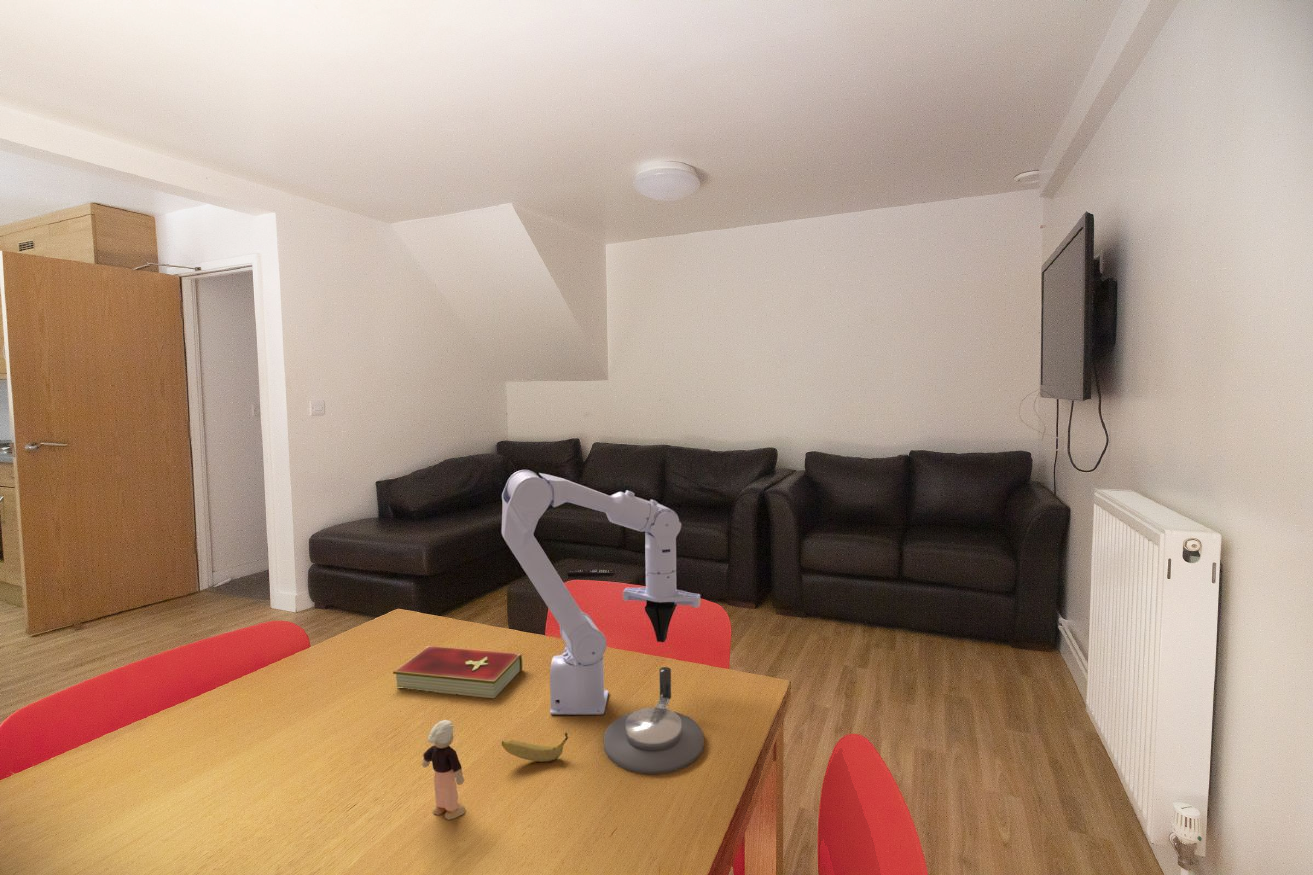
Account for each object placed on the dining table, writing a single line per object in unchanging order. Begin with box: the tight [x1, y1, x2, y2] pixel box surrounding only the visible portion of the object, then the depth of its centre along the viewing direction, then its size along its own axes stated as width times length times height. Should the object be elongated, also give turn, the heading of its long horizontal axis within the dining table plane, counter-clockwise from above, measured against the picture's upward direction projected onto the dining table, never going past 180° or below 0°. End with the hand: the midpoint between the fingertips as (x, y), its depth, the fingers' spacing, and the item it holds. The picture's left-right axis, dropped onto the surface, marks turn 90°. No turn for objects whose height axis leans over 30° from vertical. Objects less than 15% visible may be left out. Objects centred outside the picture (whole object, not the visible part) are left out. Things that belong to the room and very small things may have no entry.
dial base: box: [603, 711, 704, 775], centre depth 102 cm, size 16×16×1 cm
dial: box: [625, 666, 682, 750], centre depth 104 cm, size 14×9×6 cm, turn 167°
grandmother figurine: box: [421, 719, 466, 821], centre depth 86 cm, size 8×4×13 cm, turn 71°
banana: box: [501, 732, 569, 763], centre depth 97 cm, size 10×2×4 cm, turn 98°
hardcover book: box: [392, 645, 523, 699], centre depth 124 cm, size 12×21×4 cm, turn 78°
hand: (661, 639), depth 119 cm, fingers closed
